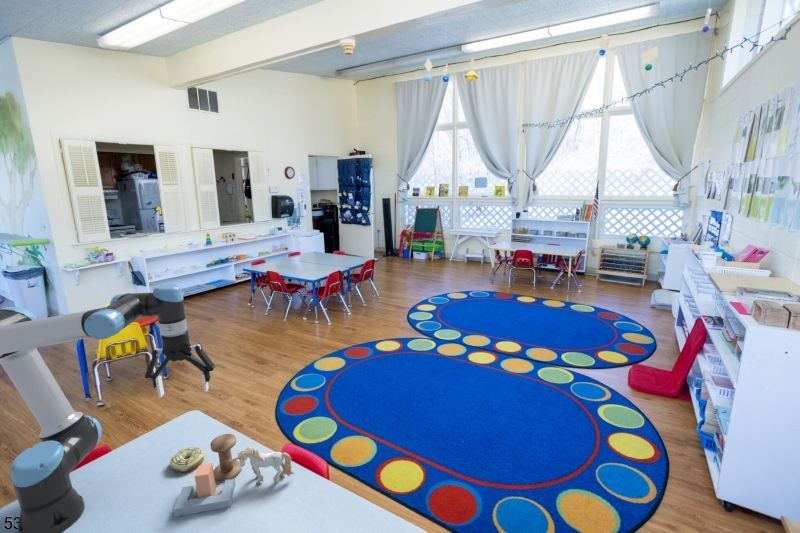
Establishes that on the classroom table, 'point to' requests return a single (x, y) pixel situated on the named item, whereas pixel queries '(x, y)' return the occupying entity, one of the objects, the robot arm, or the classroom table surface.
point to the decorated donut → (187, 459)
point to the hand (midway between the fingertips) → (184, 393)
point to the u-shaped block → (204, 500)
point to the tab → (205, 480)
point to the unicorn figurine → (266, 462)
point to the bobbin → (225, 458)
